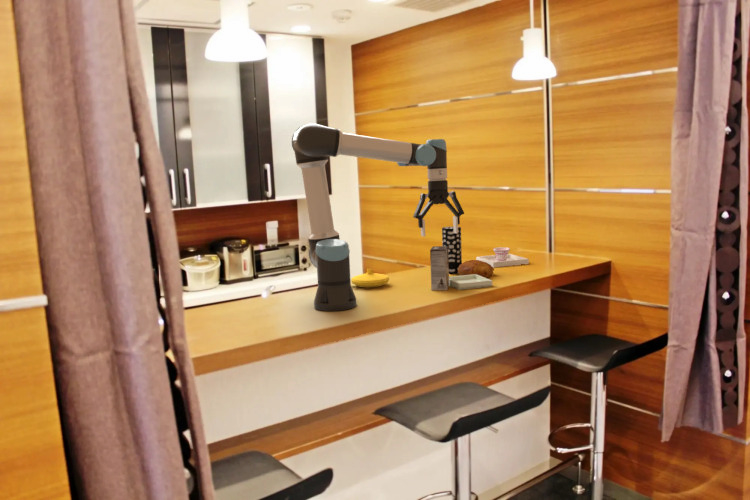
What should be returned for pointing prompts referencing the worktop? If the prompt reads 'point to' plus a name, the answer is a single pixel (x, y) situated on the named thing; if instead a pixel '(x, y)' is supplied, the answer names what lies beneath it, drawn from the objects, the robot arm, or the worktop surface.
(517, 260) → the saucer
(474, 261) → the croissant
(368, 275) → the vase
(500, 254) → the teacup
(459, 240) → the spotted tube
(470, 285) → the tray
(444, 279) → the coffee box
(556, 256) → the worktop surface
